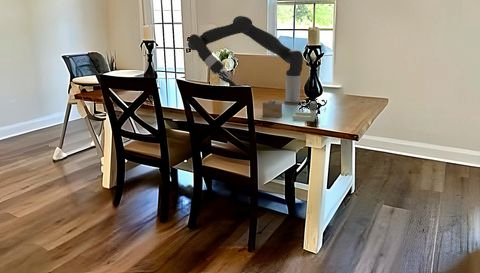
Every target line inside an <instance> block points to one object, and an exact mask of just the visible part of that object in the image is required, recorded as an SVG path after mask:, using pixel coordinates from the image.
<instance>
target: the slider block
mask: <svg viewBox="0 0 480 273" xmlns="http://www.w3.org/2000/svg"><path fill="white" fill-rule="evenodd" d="M282 112H283V102H281V101H276V100H274V99H271V100H269V101H267V100H266V101H265V100H264V102H262V118H272V119H281V118H282V116H283V115H282V114H283V113H282Z"/></svg>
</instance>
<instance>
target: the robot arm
mask: <svg viewBox="0 0 480 273" xmlns="http://www.w3.org/2000/svg"><path fill="white" fill-rule="evenodd" d="M237 34H243V35H245V36H247V37H249V38H250V39H251V40H253V41H254V42H255V43H257V44H258V45H259V46H260V47H263V48H264V49H266V50H267V51H268V52H271V53H273V54H275V55H277V56H278V57H279V58H281V59H282V60H283V61H284V62H285V63H286V64H289V67H288V68H289V69H286V74H285V102H287V103H300V100H301V99H300V94H301V74H302V70H303V64H304V62H303V60H304V57H303V53H302V52H301V51H300V50H296V49H292V48H289V47H287V46H285V45H284V44H283V43H282V42H281V41H280V40H279V39H278V38H277V36H275V35H274V34H273V33H271V32H269V31H267V30H264V29H262V28H260V27H258V26H256V25H254V24H253V21H252V19H251V18H250V17H248V16H245V15H238V16H236V17H234V19H233V20H232V23H230V24H227V25H223V26H218V27H215V28H211V29H209V30H206V31H203V33H202V34H201V35H198V34H197V33H196V34H195V33H194V34H191V35H190V36H189V38H188V42H187V47H188V48H189V50H190V51H196V52H197V53H198V54H197V55H198V57H199V59H201V61H203V63H204V64H205V65H206V66H207V67H208V68H209V70H210V71H211V72H212V74H214V75H218V76H219V77H218V78H219V79H221V81H223V82H225V83H226V84H229V85H230V86H231V87H232V86H235V87H236V86H237V84H236V82H235V81H234V80H233V77H232V74H231V73H230V71H227V70H226V69H225V68H224V67H225V64H224V63H223V62H222V61H221V60H220V59H219V58H218V56H216V55H215V54H214V53H213V52H212V50H210V48H208V45H209V44H212V43H215V42H217V41H220V40H222V39H225V38H227V37H228V38H229V37H230V36H233V35H237Z"/></svg>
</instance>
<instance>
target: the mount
mask: <svg viewBox="0 0 480 273" xmlns="http://www.w3.org/2000/svg"><path fill="white" fill-rule="evenodd" d="M316 118H317V109H316V110H310V112H309V111H308V112H306V111H295V114H293V115H292V120H293V121H299V122H300V121H302V122H315V120H316Z"/></svg>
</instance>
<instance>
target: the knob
mask: <svg viewBox="0 0 480 273" xmlns="http://www.w3.org/2000/svg"><path fill="white" fill-rule="evenodd" d="M317 107H318V105H317V102H316V101H310V103H309V110H310V111H311V110H316V111H317Z"/></svg>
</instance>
